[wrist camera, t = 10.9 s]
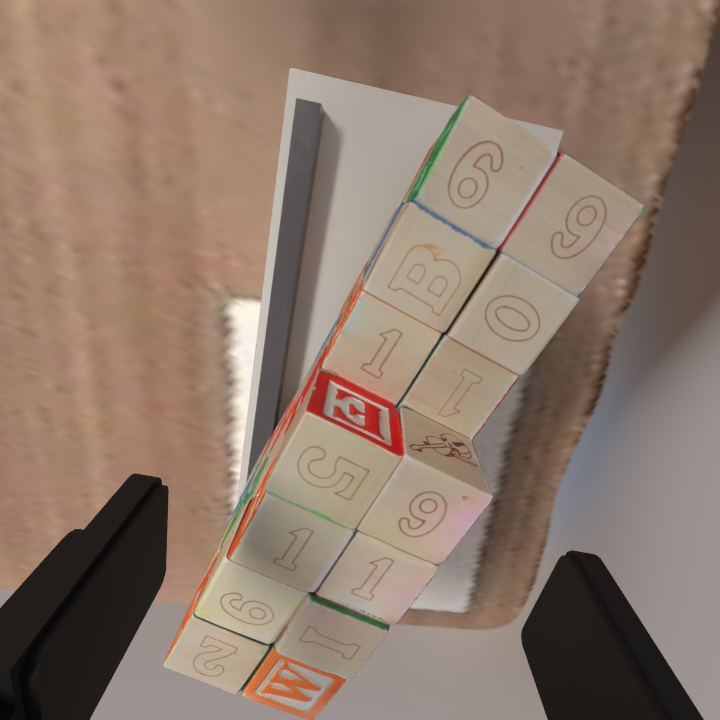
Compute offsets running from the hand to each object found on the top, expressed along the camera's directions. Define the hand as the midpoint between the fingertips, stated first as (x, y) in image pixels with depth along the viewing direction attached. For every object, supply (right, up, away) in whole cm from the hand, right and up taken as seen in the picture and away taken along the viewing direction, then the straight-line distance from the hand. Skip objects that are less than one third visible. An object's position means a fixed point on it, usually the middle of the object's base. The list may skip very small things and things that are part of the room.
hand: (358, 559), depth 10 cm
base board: (+1, +5, +17) cm, 18 cm away
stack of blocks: (+1, +5, +14) cm, 15 cm away
